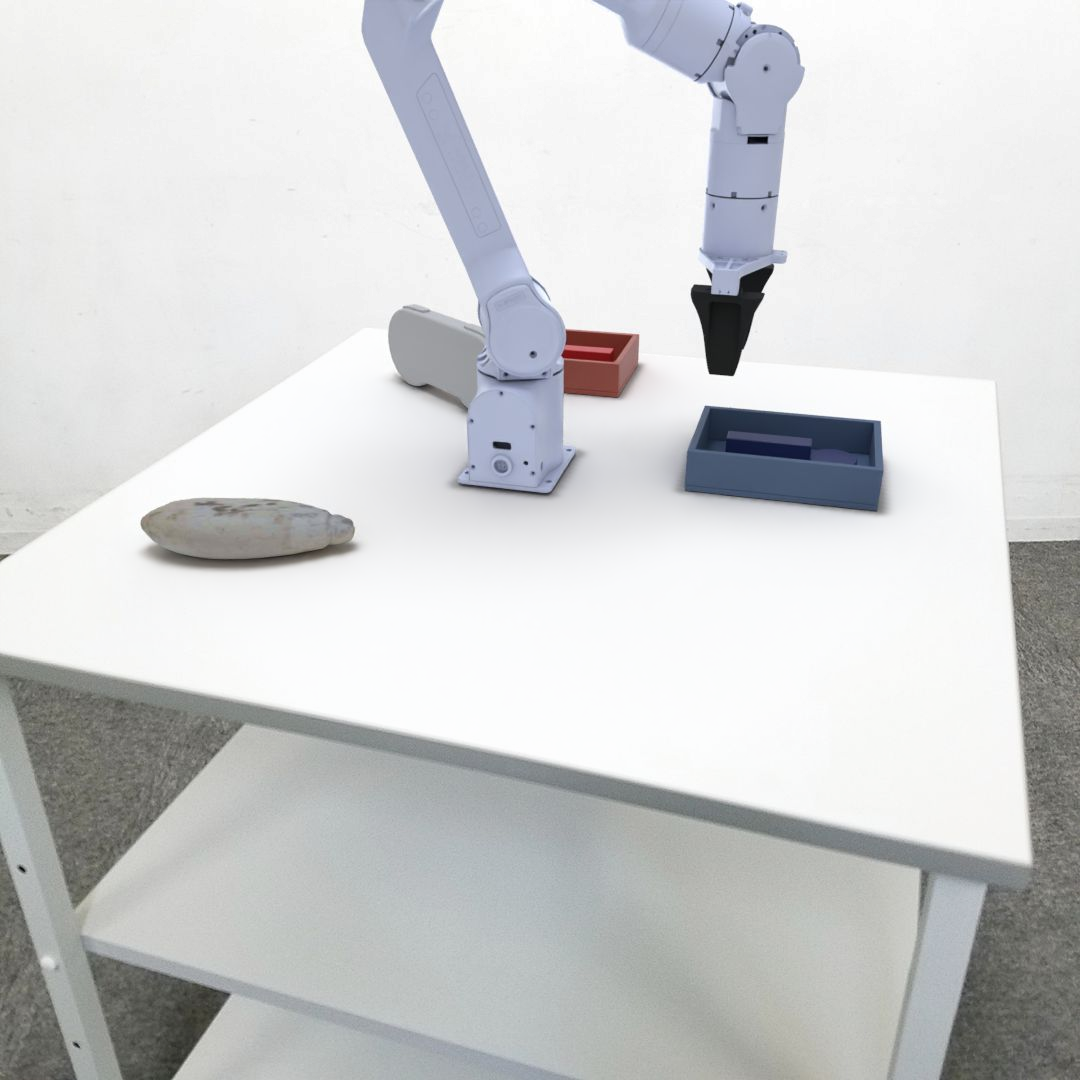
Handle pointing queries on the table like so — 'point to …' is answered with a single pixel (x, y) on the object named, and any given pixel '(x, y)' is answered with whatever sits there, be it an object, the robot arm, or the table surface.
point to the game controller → (436, 350)
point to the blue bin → (787, 459)
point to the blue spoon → (783, 448)
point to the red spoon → (588, 353)
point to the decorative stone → (244, 527)
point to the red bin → (600, 363)
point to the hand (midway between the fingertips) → (727, 360)
